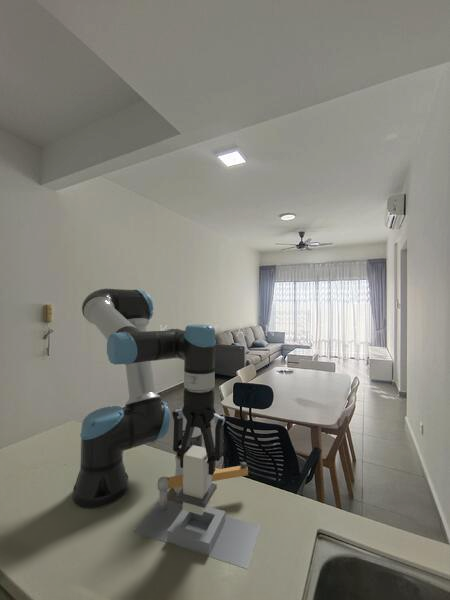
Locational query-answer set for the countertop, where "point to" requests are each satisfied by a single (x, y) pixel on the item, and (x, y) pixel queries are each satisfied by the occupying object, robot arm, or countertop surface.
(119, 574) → the countertop surface
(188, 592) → the countertop surface
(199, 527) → the socket block
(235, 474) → the orange knobbed bar
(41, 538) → the countertop surface
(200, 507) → the plug
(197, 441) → the vodka
